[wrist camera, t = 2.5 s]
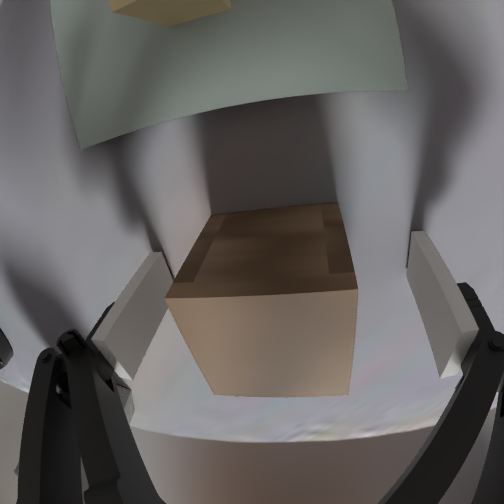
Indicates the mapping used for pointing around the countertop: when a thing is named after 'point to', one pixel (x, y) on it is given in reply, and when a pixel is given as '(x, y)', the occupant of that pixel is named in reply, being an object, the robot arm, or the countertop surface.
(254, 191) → the countertop surface
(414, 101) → the countertop surface
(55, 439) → the robot arm
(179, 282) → the cardboard shipping box
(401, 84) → the pale green flat panel
